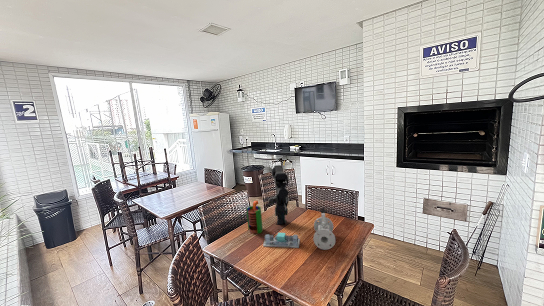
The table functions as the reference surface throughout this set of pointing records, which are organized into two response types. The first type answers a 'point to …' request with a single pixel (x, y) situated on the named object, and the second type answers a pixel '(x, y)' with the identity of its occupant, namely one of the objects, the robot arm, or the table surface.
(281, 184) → the robot arm
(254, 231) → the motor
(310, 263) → the table surface
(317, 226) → the valve
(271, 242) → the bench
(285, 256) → the table surface
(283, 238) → the coupler
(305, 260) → the table surface
